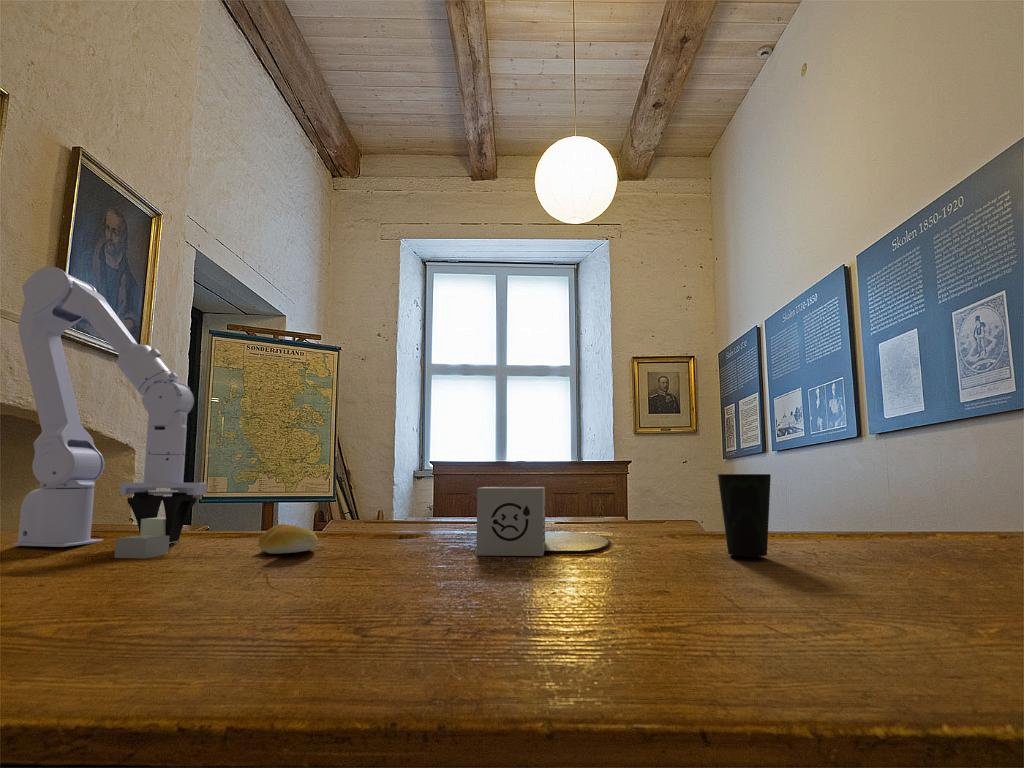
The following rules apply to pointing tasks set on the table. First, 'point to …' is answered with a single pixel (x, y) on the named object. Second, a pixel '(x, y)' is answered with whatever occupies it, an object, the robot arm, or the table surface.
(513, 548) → the icon cube
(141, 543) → the grey block
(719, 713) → the table surface
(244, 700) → the table surface
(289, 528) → the bread roll
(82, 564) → the table surface
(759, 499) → the cup
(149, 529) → the sage block
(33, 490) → the robot arm
